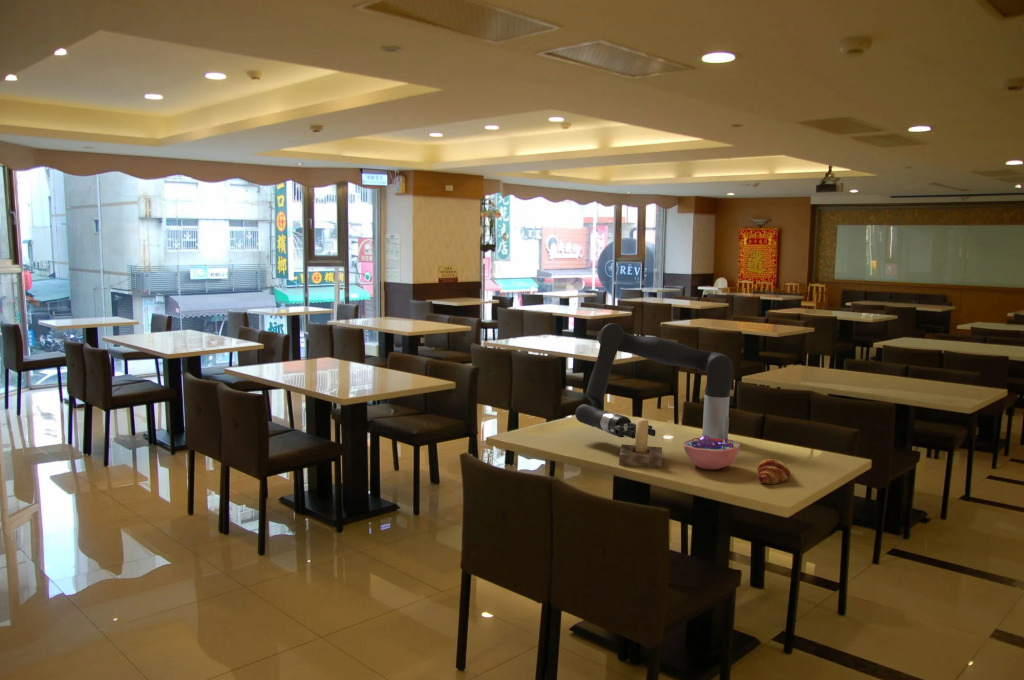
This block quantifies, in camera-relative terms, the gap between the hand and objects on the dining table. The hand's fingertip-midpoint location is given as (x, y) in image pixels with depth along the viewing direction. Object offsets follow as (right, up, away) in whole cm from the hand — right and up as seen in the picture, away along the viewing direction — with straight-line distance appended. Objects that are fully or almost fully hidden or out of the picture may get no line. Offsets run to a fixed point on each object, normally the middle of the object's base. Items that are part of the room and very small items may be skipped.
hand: (644, 434), depth 257 cm
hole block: (-1, -9, +2) cm, 10 cm away
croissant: (+38, -13, -15) cm, 43 cm away
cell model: (+21, -11, -4) cm, 24 cm away
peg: (-1, -9, +2) cm, 10 cm away
